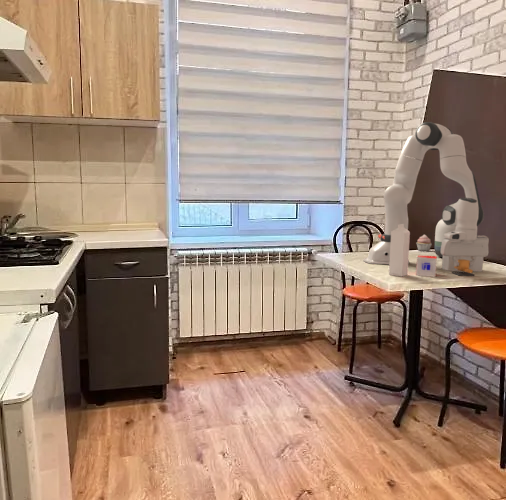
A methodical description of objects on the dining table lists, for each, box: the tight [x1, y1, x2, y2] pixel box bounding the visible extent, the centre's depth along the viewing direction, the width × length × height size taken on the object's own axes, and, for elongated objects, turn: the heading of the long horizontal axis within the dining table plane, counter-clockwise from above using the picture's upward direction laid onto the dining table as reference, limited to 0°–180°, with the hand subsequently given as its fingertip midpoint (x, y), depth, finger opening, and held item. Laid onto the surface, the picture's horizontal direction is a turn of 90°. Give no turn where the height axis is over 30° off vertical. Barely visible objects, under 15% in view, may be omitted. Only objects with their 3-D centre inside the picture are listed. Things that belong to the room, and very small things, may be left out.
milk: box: [388, 224, 411, 277], centre depth 214 cm, size 6×6×22 cm
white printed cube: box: [415, 254, 438, 277], centre depth 217 cm, size 8×8×8 cm
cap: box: [454, 259, 474, 274], centre depth 219 cm, size 13×5×4 cm, turn 5°
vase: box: [434, 218, 456, 258], centre depth 270 cm, size 17×17×24 cm
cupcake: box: [415, 234, 433, 252], centre depth 298 cm, size 9×9×10 cm
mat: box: [451, 271, 475, 277], centre depth 219 cm, size 7×7×1 cm
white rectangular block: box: [441, 256, 484, 272], centre depth 231 cm, size 16×7×10 cm, turn 92°
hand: (463, 266), depth 219 cm, fingers open, 5 cm apart
